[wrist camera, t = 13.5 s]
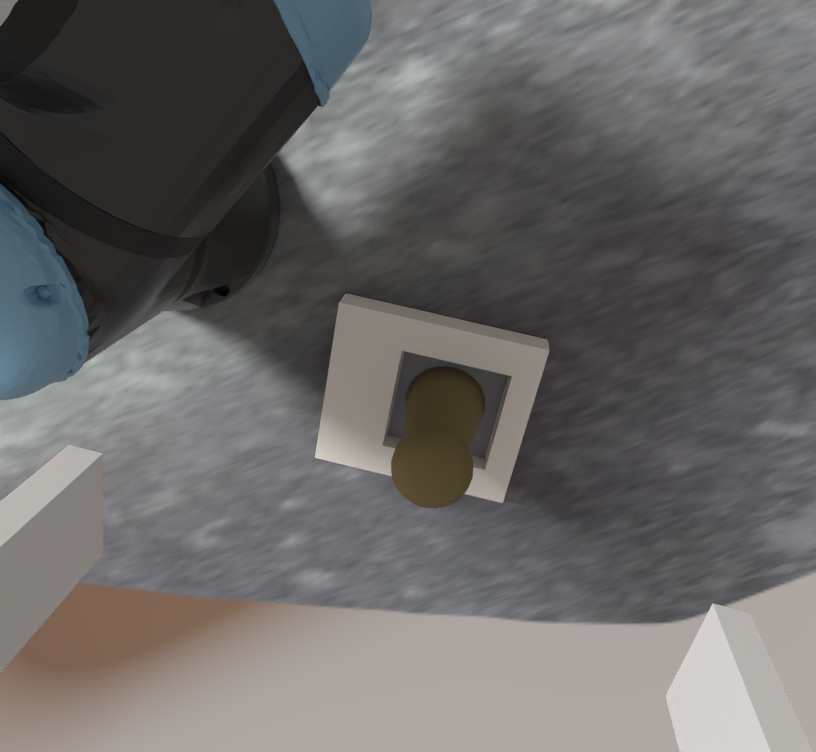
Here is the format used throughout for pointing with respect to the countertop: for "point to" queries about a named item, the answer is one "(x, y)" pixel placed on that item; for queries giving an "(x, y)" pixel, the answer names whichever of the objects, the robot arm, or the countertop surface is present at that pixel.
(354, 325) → the socket plate
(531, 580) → the countertop surface
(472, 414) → the cork
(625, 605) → the countertop surface
